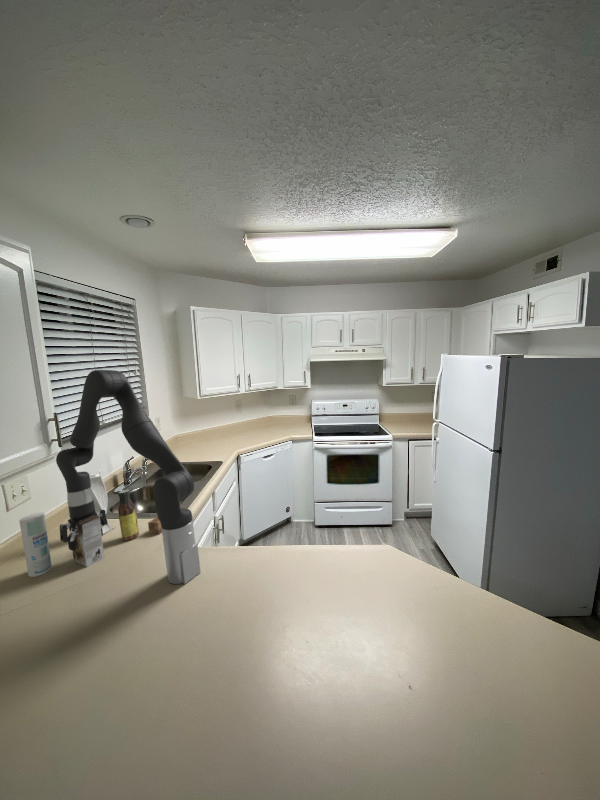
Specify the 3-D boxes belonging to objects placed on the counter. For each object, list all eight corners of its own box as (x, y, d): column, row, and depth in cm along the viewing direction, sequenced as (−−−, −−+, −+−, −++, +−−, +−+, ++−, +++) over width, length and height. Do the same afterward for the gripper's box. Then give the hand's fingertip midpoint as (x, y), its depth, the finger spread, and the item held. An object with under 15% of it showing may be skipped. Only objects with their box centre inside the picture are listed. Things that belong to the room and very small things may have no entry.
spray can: (36, 578, 100) (27, 521, 99) (23, 576, 102) (14, 520, 100) (56, 566, 106) (48, 512, 105) (44, 564, 108) (35, 512, 107)
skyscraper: (118, 528, 133) (109, 467, 131) (101, 537, 125) (92, 473, 123) (103, 527, 135) (95, 467, 133) (86, 536, 127) (77, 473, 125)
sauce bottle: (142, 535, 123) (136, 489, 122) (126, 543, 118) (120, 495, 117) (134, 532, 127) (128, 487, 126) (119, 539, 122) (112, 492, 121)
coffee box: (73, 562, 108) (66, 519, 107) (92, 552, 113) (86, 512, 112) (86, 567, 103) (79, 523, 102) (105, 557, 109) (99, 515, 108)
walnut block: (167, 528, 128) (166, 517, 128) (159, 534, 123) (157, 523, 123) (157, 528, 129) (156, 517, 129) (149, 534, 124) (147, 522, 124)
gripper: (62, 511, 99) (69, 557, 100) (107, 495, 111) (112, 536, 112) (52, 508, 103) (59, 552, 104) (96, 492, 115) (102, 532, 116)
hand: (87, 544), depth 108 cm, fingers open, 8 cm apart
